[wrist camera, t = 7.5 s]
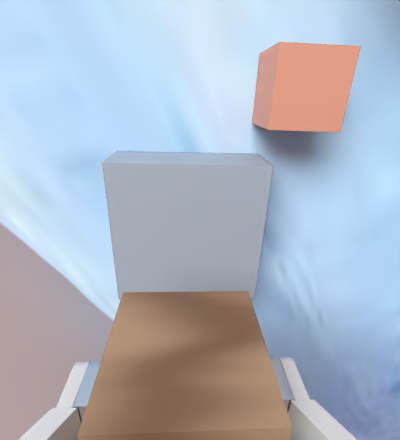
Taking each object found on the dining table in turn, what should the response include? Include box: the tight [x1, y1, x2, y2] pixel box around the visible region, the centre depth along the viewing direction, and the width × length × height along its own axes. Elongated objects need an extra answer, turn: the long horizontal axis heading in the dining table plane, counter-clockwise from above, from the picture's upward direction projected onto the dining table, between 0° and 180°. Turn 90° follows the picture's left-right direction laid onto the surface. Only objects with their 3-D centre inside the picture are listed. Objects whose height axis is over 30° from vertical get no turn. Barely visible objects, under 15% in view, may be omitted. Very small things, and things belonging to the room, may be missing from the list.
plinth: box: [102, 151, 273, 299], centre depth 22 cm, size 11×11×4 cm
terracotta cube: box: [252, 42, 361, 132], centre depth 18 cm, size 4×4×4 cm
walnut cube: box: [77, 291, 292, 440], centre depth 10 cm, size 5×5×5 cm
